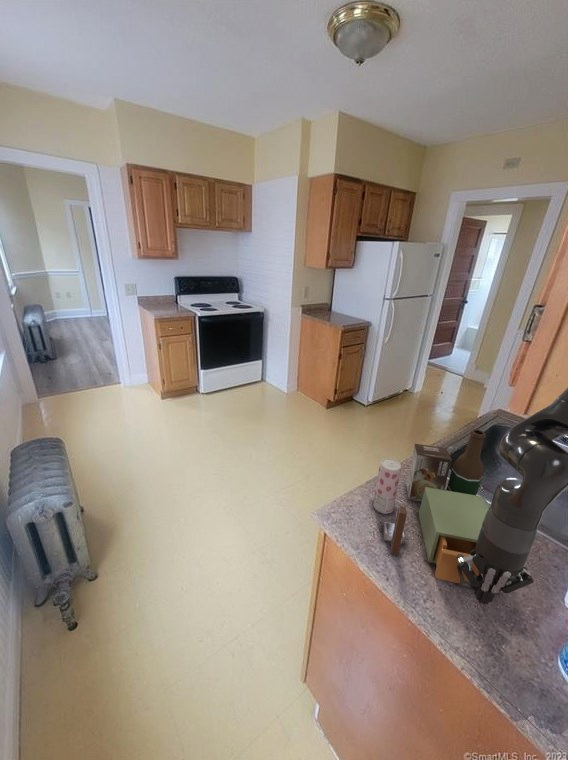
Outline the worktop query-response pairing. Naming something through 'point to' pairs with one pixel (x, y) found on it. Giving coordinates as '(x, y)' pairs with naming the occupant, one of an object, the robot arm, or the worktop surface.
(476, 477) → the beer bottle
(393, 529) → the scoop
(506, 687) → the worktop surface
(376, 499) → the beverage can
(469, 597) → the worktop surface
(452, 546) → the drawer
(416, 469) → the coffee box
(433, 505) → the cabinet
